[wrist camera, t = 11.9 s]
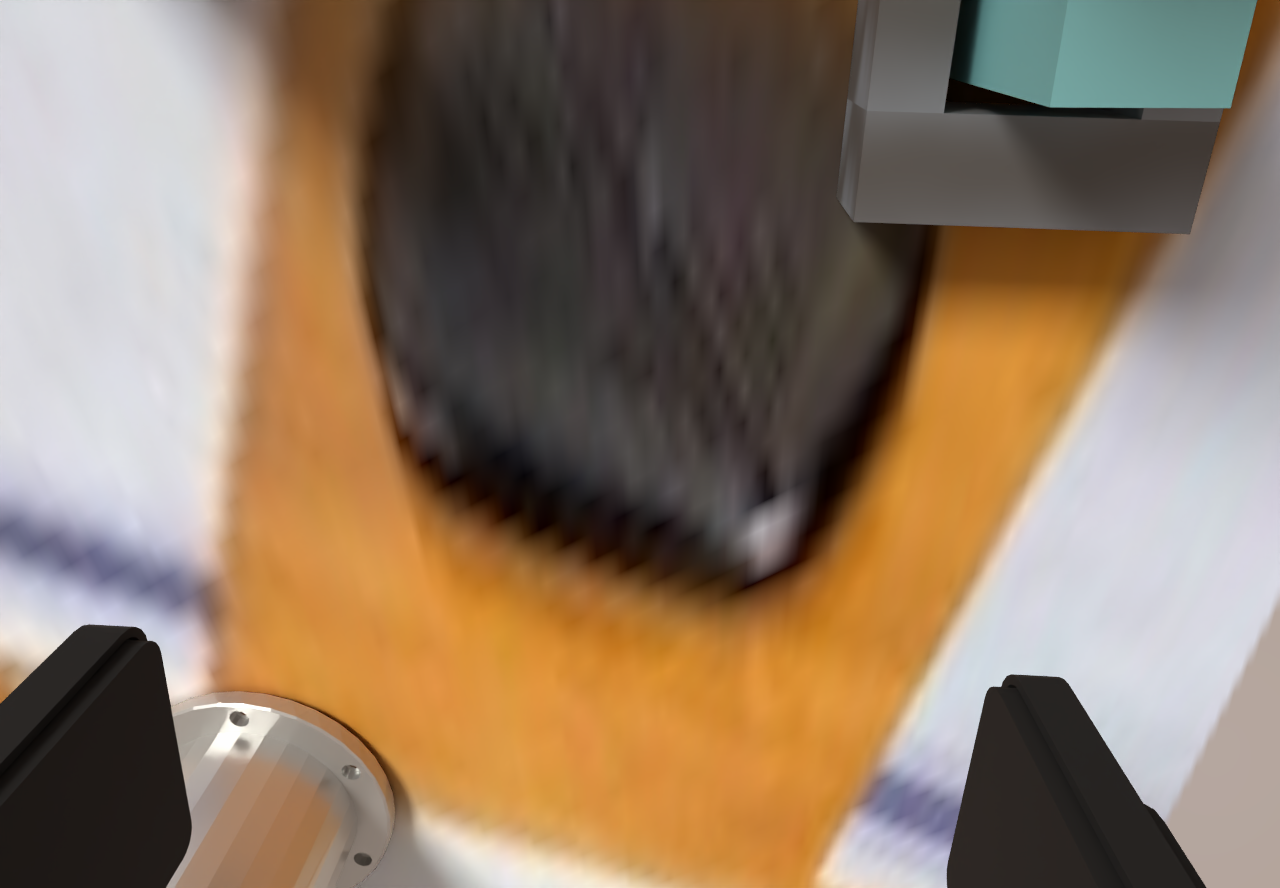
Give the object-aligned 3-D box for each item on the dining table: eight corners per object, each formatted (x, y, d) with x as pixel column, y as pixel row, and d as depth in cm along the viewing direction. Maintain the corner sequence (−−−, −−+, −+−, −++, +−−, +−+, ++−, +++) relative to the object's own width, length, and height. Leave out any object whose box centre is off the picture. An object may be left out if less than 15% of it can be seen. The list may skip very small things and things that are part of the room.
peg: (1098, -64, 29) (1280, -95, 20) (1072, 77, 30) (1230, 108, 21) (964, -63, 29) (1083, -94, 20) (946, 77, 31) (1049, 107, 22)
